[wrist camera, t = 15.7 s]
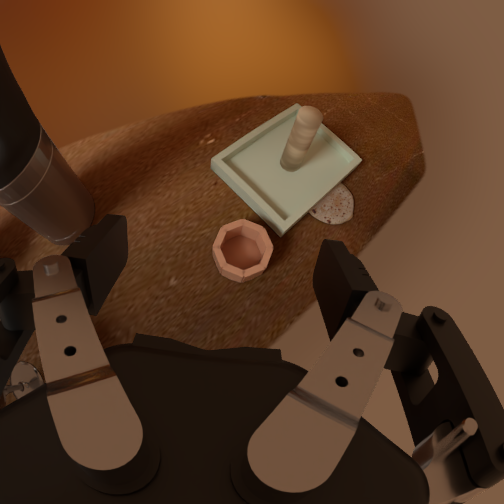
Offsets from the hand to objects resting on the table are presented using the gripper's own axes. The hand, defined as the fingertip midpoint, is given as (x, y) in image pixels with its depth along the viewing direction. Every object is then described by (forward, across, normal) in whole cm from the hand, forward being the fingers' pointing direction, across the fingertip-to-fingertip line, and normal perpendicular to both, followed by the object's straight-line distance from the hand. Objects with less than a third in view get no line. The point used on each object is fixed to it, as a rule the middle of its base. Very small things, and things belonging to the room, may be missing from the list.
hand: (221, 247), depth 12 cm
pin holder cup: (+23, -2, +13) cm, 27 cm away
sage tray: (+33, -8, +3) cm, 34 cm away
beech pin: (+33, -8, +2) cm, 34 cm away
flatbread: (+30, -14, +7) cm, 34 cm away
